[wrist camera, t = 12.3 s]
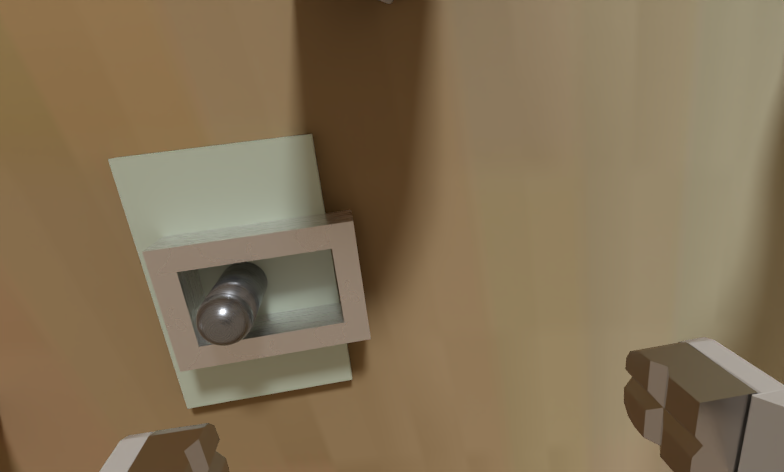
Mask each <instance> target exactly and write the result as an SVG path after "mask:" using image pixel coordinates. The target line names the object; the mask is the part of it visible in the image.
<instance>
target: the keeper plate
mask: <svg viewBox="0 0 784 472" xmlns="http://www.w3.org/2000/svg"><path fill="white" fill-rule="evenodd" d="M108 161H109V164H110V167H111V170H112V173H113V177H114V180H115V183H116V186H117V189H118V192H119V195H120V199H121V202H122V205H123V208H124V211H125V214H126V217H127V220H128V224H129V227H130V230H131V233H132V236H133V239H134V242H135V246H136V249H137V252H138V255H139V258H140V261H141V264H142V268H143V271H144V274H145V277H146V280H147V283H148V286H149V289H150V293H151V296H152V299H153V302H154V305H155V308H156V311H157V315H158V318H159V321H160V324H161V327H162V330H163V333H164V336H165V340H166V343H167V346H168V349H169V352H170V355H171V358H172V362H173V365H174V368H175V371H176V374H177V377H178V380H179V384H180V387H181V390H182V393H183V396H184V399H185V402H186V405H187V409H189V408H195V407H200V406H206V405H212V404H217V403H223V402H229V401H234V400H240V399H245V398H251V397H257V396H262V395H268V394H274V393H279V392H285V391H291V390H296V389H302V388H308V387H313V386H319V385H325V384H330V383H336V382H342V381H347V380H352V369H351V363H350V357H349V351H348V345H347V343H345V344H339V345H334V346H328V347H322V348H316V349H310V350H305V351H299V352H293V353H287V354H281V355H275V356H270V357H264V358H258V359H252V360H246V361H240V362H235V363H229V364H223V365H217V366H211V367H205V368H200V369H194V370H188V371H182V372H180V369H179V366H178V363H177V360H176V357H175V354H174V350H173V347H172V344H171V341H170V338H169V335H168V332H167V329H166V325H165V322H164V319H163V316H162V313H161V310H160V307H159V303H158V300H157V297H156V294H155V291H154V288H153V285H152V281H151V278H150V275H149V272H148V269H147V266H146V263H145V260H144V256H143V253H142V252H143V251H144V250H145V249H147V248H148V247H149V246H151V245H152V244H153V243H155V242H156V241H158V240H159V239H160V238H162V237H163V236H170V235H177V234H184V233H191V232H198V231H205V230H212V229H219V228H226V227H233V226H240V225H247V224H253V223H260V222H267V221H274V220H281V219H288V218H295V217H302V216H309V215H316V214H323V213H325V208H324V202H323V196H322V190H321V184H320V178H319V172H318V166H317V160H316V154H315V148H314V142H313V136H312V134H305V135H297V136H288V137H280V138H272V139H264V140H256V141H248V142H240V143H231V144H223V145H215V146H207V147H199V148H191V149H183V150H174V151H166V152H158V153H150V154H142V155H134V156H126V157H118V158H113V159H108ZM247 262H251V263H253V264H256V265H257V266H259V267H260V268H261V269H262V270H263V271H264V273H265V274H266V277H267V281H268V285H267V289H266V292H265V294H264V297H263V300H262V302H261V305H260V307H259V310H258V313H257V315H256V316H259V315H265V314H271V313H278V312H284V311H290V310H296V309H302V308H308V307H314V306H321V305H327V304H333V303H339V302H340V298H339V292H338V286H337V280H336V274H335V268H334V262H333V256H332V250H331V249H327V250H320V251H313V252H307V253H300V254H294V255H287V256H280V257H274V258H267V259H261V260H254V261H247ZM230 265H231V264H227V265H221V266H214V267H208V268H201V269H198V273H199V276H200V280H201V283H202V287H203V291H204V294H205V298H206V297H207V295H208V294H209V292H210V291H211V289H212V288H213V286H214V285H215V284H216V282H217V281H218V279H219V278H220V276H221V275H222V273H223V272H224V271H225V269H226V268H227V267H228V266H230Z"/></svg>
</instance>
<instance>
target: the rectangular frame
mask: <svg viewBox="0 0 784 472" xmlns="http://www.w3.org/2000/svg"><path fill="white" fill-rule="evenodd" d="M327 249H332V252H333V258H334V264H335V270H336V276H337V282H338V288H339V294H340V300H341V302H339V303H333V304H327V305H321V306H314V307H308V308H302V309H296V310H290V311H284V312H278V313H271V314H265V315H259V316H256V318H255V320H254V323H253V326H252V328H251V330H250V331H249V333H248V334H247V335H246V336H245V337H244V338H243V339H242V340H240V341H239V342H237V343H235V344H232V345H227V346H219V345H214V344H212V343H210V342H208V341H206V340H205V339H204V338H203V337H202V336H201V335H200V333H199V331H198V329H197V325H196V315H197V311H198V309H199V307H200V305H201V304H202V302H203V301H204V299H205V294H204V291H203V287H202V283H201V280H200V276H199V273H198V269H201V268H208V267H214V266H221V265H227V264H234V263H241V262H247V261H254V260H261V259H267V258H274V257H280V256H287V255H294V254H300V253H307V252H313V251H320V250H327ZM142 253H143V256H144V260H145V263H146V266H147V269H148V272H149V275H150V278H151V281H152V285H153V288H154V291H155V294H156V297H157V300H158V303H159V307H160V310H161V313H162V316H163V319H164V322H165V325H166V329H167V332H168V335H169V338H170V341H171V344H172V347H173V350H174V354H175V357H176V360H177V363H178V366H179V369H180V372H182V371H188V370H194V369H200V368H205V367H211V366H217V365H223V364H229V363H235V362H240V361H246V360H252V359H258V358H264V357H270V356H275V355H281V354H287V353H293V352H299V351H305V350H310V349H316V348H322V347H328V346H334V345H339V344H345V343H351V342H357V341H363V340H369V339H371V336H370V330H369V323H368V316H367V310H366V303H365V296H364V290H363V283H362V276H361V270H360V263H359V256H358V250H357V243H356V236H355V230H354V223H353V217H352V210H344V211H337V212H330V213H323V214H316V215H309V216H302V217H295V218H288V219H281V220H274V221H267V222H260V223H253V224H247V225H240V226H233V227H226V228H219V229H212V230H205V231H198V232H191V233H184V234H177V235H170V236H163V237H162V238H160V239H159V240H158V241H156V242H155V243H153V244H152V245H151V246H149V247H148V248H147V249H145V250H144V251H143V252H142Z"/></svg>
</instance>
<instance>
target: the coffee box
mask: <svg viewBox="0 0 784 472" xmlns="http://www.w3.org/2000/svg"><path fill="white" fill-rule="evenodd" d="M379 1H382V2H385V3H388V4H391V3H392V2H393V1H394V0H379Z"/></svg>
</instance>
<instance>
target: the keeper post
mask: <svg viewBox="0 0 784 472" xmlns="http://www.w3.org/2000/svg"><path fill="white" fill-rule="evenodd" d="M267 285H268V281H267V277H266V274H265V273H264V271H263V270H262V269H261V268H260V267H259V266H257V265H256V264H253V263H251V262H241V263H234V264H231V265H230V266H228V267H227V268H226V269H225V271H224V272H223V273H222V275H221V276H220V278H219V279H218V281H217V282H216V284H215V285H214V286H213V288H212V289H211V291H210V292H209V294H208V295H207V297H206V298H205V299H204V301H203V302H202V304H201V305H200V307H199V309H198V311H197V315H196V325H197V329H198V331H199V333H200V335H201V336H202V337H203V338H204V339H205V340H206V341H208V342H210V343H212V344H214V345H219V346H227V345H232V344H235V343H237V342H239V341H240V340H242V339H243V338H244V337H245V336H246V335H247V334H248V333H249V331H250V330H251V328H252V326H253V323H254V320H255V318H256V315H257V313H258V310H259V307H260V305H261V302H262V300H263V297H264V294H265V292H266V289H267Z"/></svg>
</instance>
